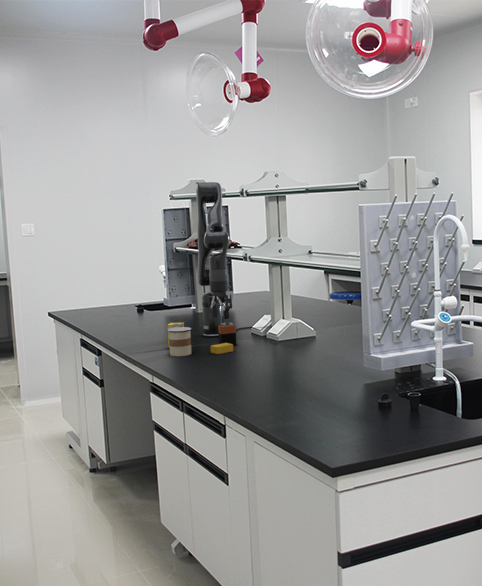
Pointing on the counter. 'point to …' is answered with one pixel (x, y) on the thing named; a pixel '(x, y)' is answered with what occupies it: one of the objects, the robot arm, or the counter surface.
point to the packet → (221, 348)
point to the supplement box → (174, 325)
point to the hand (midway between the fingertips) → (220, 318)
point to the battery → (227, 333)
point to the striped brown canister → (180, 341)
